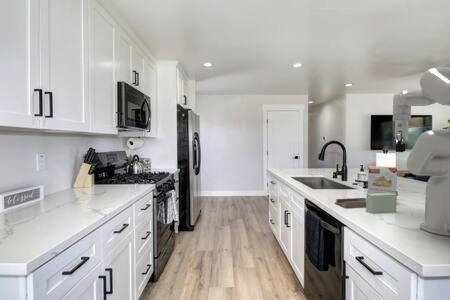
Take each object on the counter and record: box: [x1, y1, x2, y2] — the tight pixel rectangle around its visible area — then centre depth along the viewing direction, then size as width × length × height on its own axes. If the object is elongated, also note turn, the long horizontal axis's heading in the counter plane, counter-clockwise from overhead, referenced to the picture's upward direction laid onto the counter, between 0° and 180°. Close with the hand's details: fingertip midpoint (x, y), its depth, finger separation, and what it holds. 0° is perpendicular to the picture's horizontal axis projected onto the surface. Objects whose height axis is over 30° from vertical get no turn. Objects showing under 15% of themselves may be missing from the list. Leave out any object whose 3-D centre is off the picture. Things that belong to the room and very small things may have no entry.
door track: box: [334, 197, 366, 209], centre depth 141 cm, size 10×18×3 cm, turn 100°
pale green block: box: [365, 193, 398, 214], centre depth 129 cm, size 4×14×9 cm, turn 100°
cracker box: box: [367, 165, 398, 194], centre depth 148 cm, size 14×6×21 cm, turn 62°
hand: (400, 151), depth 130 cm, fingers open, 9 cm apart
